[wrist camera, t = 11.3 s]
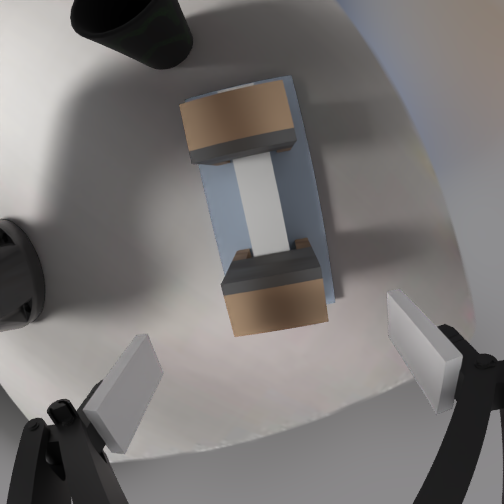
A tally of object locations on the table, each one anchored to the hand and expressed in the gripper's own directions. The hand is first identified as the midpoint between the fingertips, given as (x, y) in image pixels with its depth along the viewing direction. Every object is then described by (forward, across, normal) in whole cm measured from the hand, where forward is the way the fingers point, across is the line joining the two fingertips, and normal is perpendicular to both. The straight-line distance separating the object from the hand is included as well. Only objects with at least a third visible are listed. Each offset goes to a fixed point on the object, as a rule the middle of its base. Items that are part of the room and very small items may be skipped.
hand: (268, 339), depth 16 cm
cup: (+16, -5, +24) cm, 29 cm away
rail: (+15, +1, +6) cm, 16 cm away
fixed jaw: (+14, +1, +12) cm, 18 cm away
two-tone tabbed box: (+14, +1, 0) cm, 14 cm away
